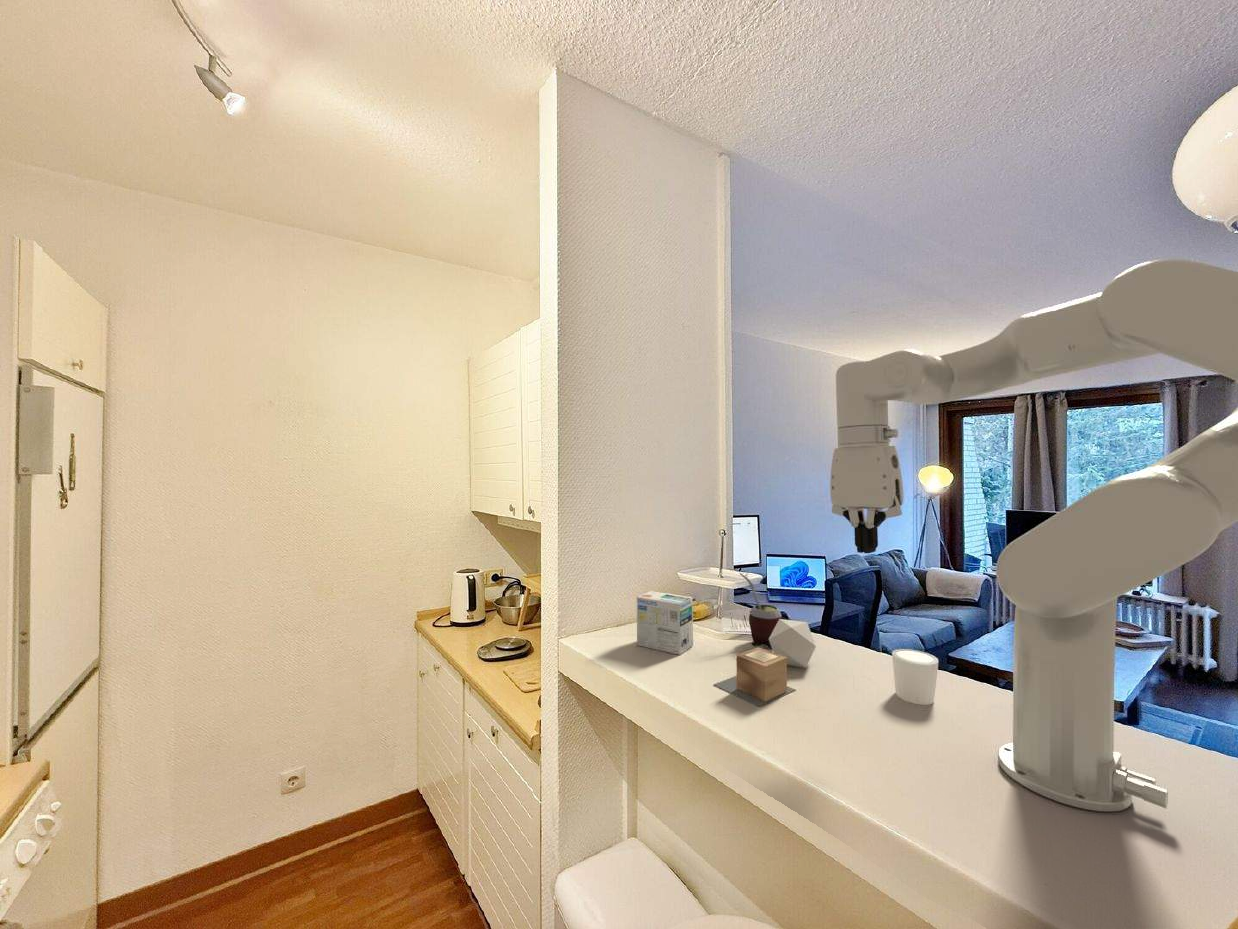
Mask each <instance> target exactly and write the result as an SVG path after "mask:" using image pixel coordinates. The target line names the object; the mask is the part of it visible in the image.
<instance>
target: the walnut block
mask: <svg viewBox="0 0 1238 929" xmlns="http://www.w3.org/2000/svg"><path fill="white" fill-rule="evenodd" d="M736 676H737V689H738V690H740V691H743V692H745V693H747V694H749V695H751V696H754V697H756V698H758V699H760V700H762V701H764V702H766V701H768V700H770V699H772V698H774V697H776V696H779V695H781V694H783V693H785V692H787V686H788V665H787V657H784V656H781V655H779V654H776V653H774V652H773V651H770V650H767V649H765V648H761V647H759V646H757V647H755V648H752V649H750V650H749V649H748V650H746V651H744V652H741V653H739V654H736Z"/></svg>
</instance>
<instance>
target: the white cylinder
mask: <svg viewBox="0 0 1238 929" xmlns="http://www.w3.org/2000/svg"><path fill="white" fill-rule="evenodd" d="M891 656H892V667H893V669H892V670H893V677H894V687H895V689H894V690H895V695H896V696H897V698H899V699H900V700H902V701H905V702H907V703H910V704H914V705H919V706H920V705H922V706H923V705H924V706H929V705H932V704H933V703H934V702H935V695H936V686H937V677H938V670H939V658H938V657H936V656H935V655H933V654H930V653H928V652H925V651H921V650H916V649H911V648H909V649H908V648H907V649H906V648H900V649H894V650H893V651H892V653H891Z"/></svg>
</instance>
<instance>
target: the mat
mask: <svg viewBox="0 0 1238 929" xmlns="http://www.w3.org/2000/svg"><path fill="white" fill-rule="evenodd" d="M713 686H715V687H716V688H719V689H721V690H723V691H725V692H727V693H728V694H732V695H734V696H735V697H738V698H740V699H742V700H744V701H745V702H749V703H750V704H753V705H754V706H755V707H756V706H757V707H759V708H761V707H762V706H764V705H766V704H769V703H772V702H774V701H775V700H778V699H780V698H782V697H784V696H787V695H789V694H790V693H792V692H795V691H796V689H795V688H793V687H790V686H788V685H787V692H785V693H783V694H781V695H779V696H776V697H774V698H772V699H770V700H768V701H766V702H764V701H762V700H760V699H758V698H756V697H754V696H751V695H749V694H747V693H745V692H743V691H740V690H738V689H737V675H734V676H732V677H730V678H727V679H724V680H721V681H718V682H716V683H714V684H713Z"/></svg>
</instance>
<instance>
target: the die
mask: <svg viewBox="0 0 1238 929" xmlns="http://www.w3.org/2000/svg"><path fill="white" fill-rule="evenodd" d="M769 642H770V644H771V647H772V649H771V651H772V652H773V653H776V654H779V655H781V656H784V657H787V666H791V667H798V668H803V669H804V668H805V669H807V667H808V664H809V662H810V660H811V659H812V656H813V654H814V652H815V649H816V647H817V646H816V644H815V639H814V638H813V635H812V631H811V629H810V627H809V624H808V622H807V621H800V620H799V621H798V620H792V619H791V620H790V619H785V618H784V619H783V618H782V619H779V621H778V623H777V624H776V626H775V628H774V630H773V632H772V634H771V636H770V637H769Z"/></svg>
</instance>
